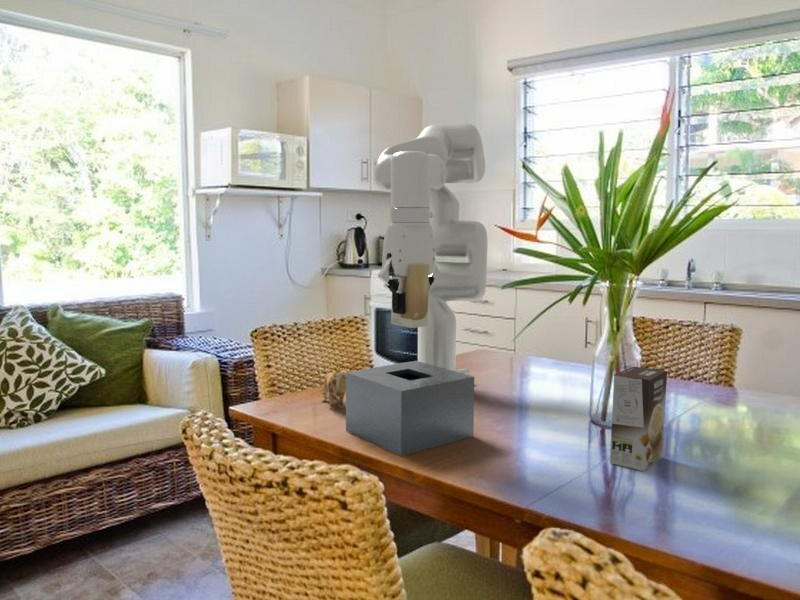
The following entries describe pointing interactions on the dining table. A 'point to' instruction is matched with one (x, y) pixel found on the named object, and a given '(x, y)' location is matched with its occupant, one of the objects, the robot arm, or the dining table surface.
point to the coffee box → (638, 417)
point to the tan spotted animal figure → (335, 387)
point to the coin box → (409, 406)
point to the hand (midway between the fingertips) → (409, 311)
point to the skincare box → (414, 298)
